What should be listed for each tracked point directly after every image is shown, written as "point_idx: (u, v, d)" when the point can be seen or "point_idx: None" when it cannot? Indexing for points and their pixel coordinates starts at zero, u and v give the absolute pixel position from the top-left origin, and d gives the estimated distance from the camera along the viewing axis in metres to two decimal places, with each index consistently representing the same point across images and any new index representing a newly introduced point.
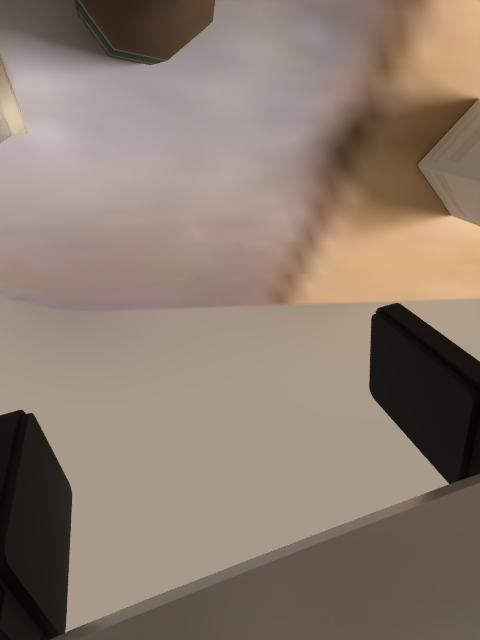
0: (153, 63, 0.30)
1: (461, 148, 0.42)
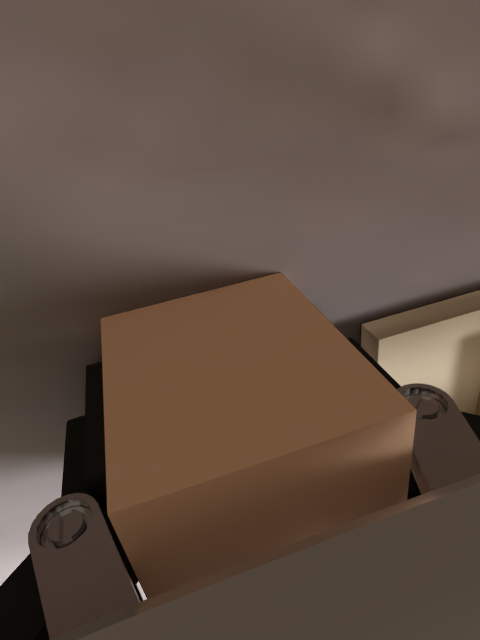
0: None
1: None
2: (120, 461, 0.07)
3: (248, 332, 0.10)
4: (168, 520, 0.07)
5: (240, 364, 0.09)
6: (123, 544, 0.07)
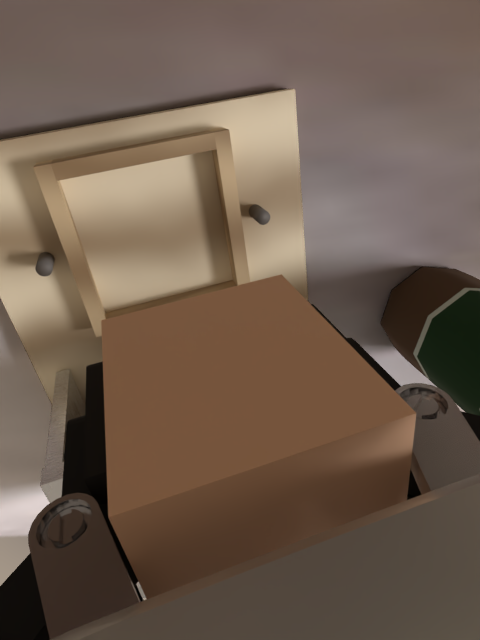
0: None
1: None
2: (121, 464, 0.07)
3: (248, 334, 0.10)
4: (168, 524, 0.07)
5: (241, 367, 0.09)
6: (124, 547, 0.07)
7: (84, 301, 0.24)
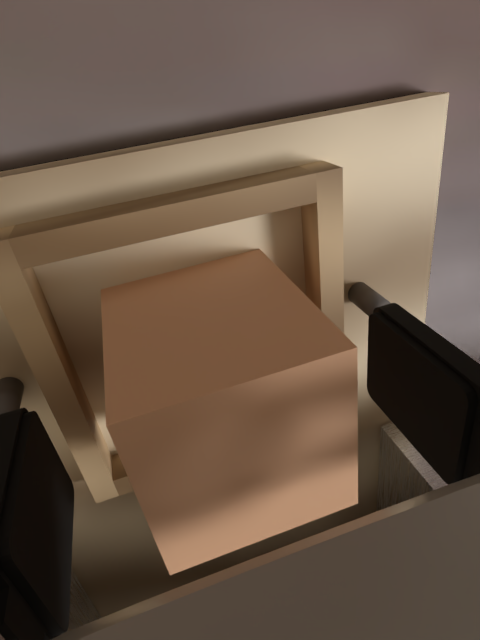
0: None
1: None
2: (116, 391, 0.09)
3: (226, 295, 0.11)
4: (154, 435, 0.08)
5: (218, 320, 0.10)
6: (119, 453, 0.08)
7: (76, 456, 0.14)
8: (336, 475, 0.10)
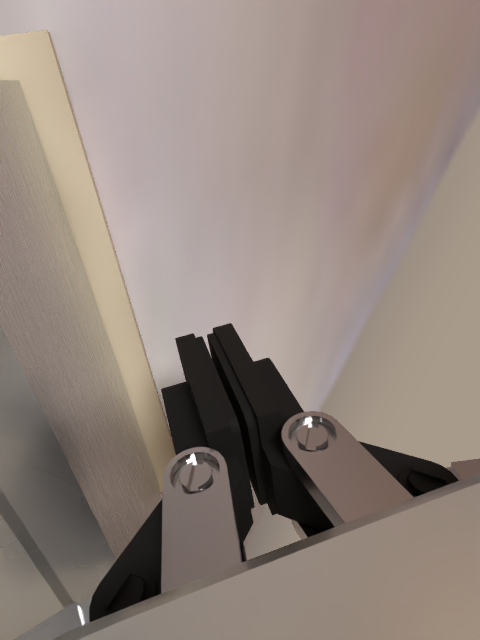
0: None
1: None
2: None
3: None
4: None
5: None
6: None
7: None
8: None
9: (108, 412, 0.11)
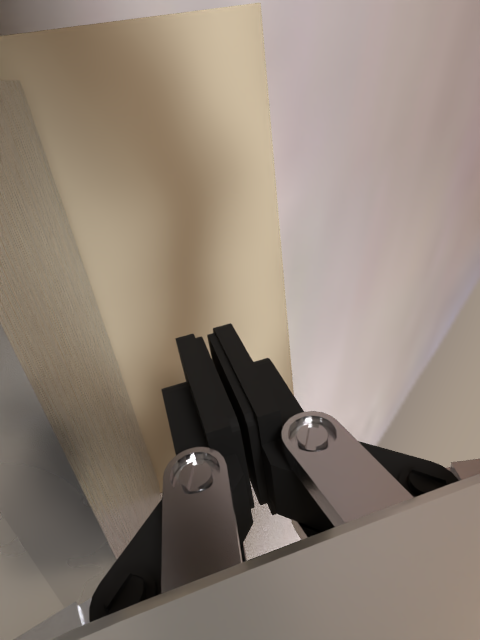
0: None
1: None
2: None
3: None
4: None
5: None
6: None
7: None
8: None
9: (108, 412, 0.11)
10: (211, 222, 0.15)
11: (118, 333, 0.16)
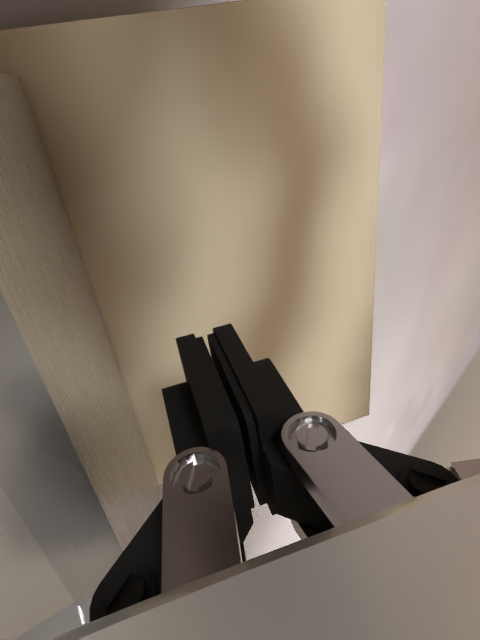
0: None
1: None
2: None
3: None
4: None
5: None
6: None
7: None
8: None
9: (108, 402, 0.11)
10: (319, 192, 0.16)
11: (226, 298, 0.17)
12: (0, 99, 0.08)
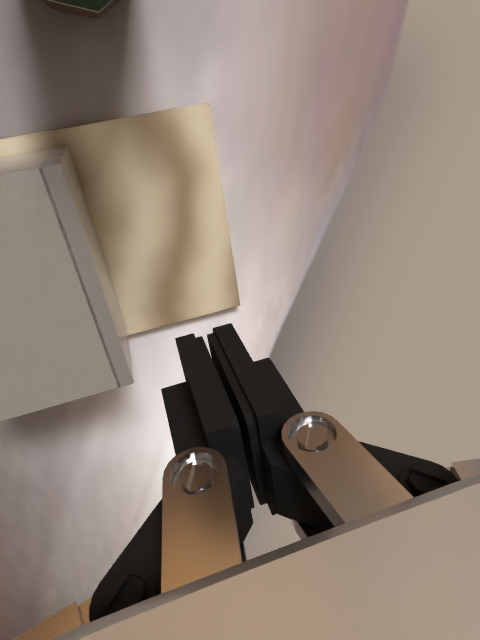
0: None
1: None
2: None
3: None
4: None
5: None
6: None
7: None
8: None
9: (99, 261, 0.32)
10: (193, 186, 0.36)
11: (154, 235, 0.37)
12: (67, 158, 0.28)
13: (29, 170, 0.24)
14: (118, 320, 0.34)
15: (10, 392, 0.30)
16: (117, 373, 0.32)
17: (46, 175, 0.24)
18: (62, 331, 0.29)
